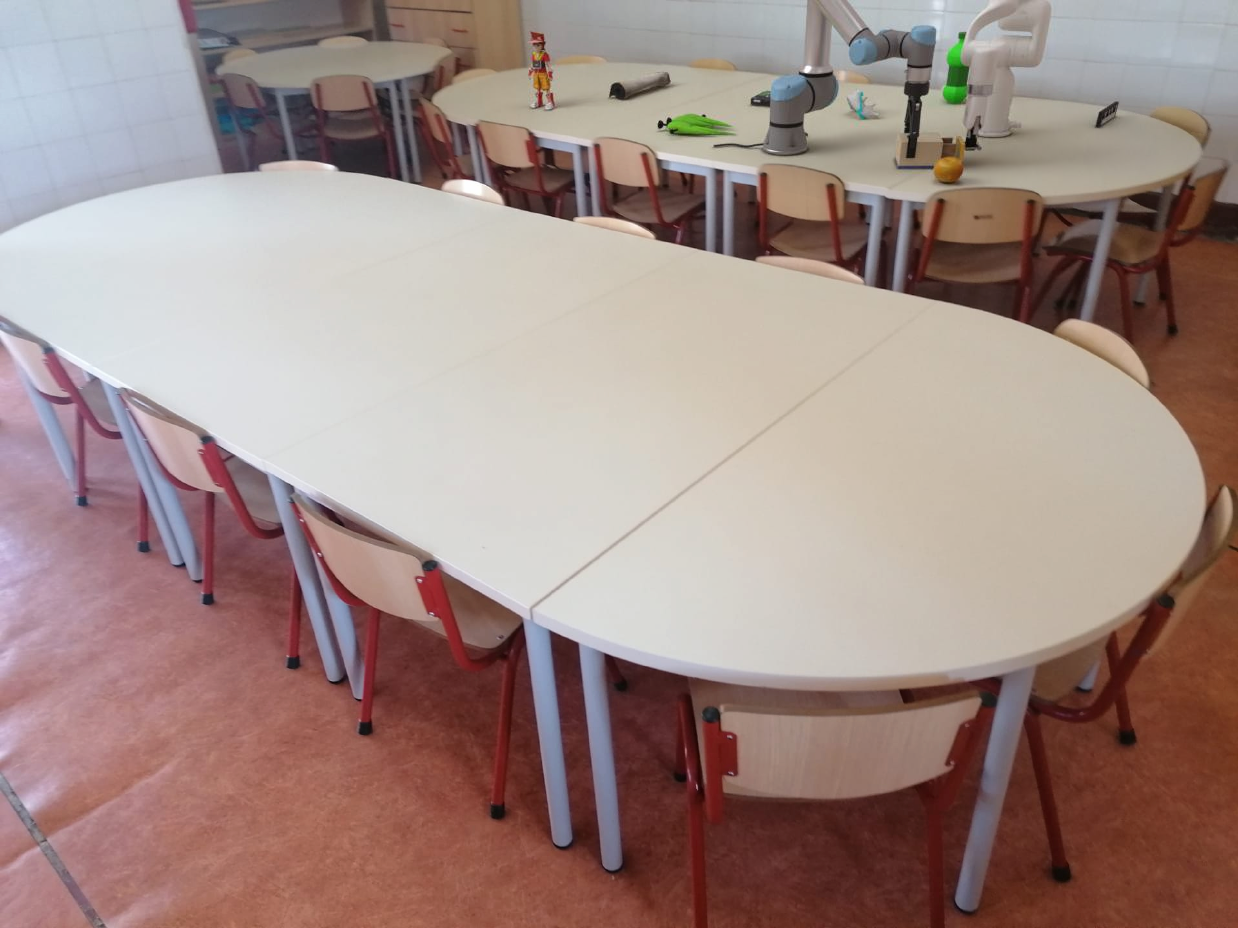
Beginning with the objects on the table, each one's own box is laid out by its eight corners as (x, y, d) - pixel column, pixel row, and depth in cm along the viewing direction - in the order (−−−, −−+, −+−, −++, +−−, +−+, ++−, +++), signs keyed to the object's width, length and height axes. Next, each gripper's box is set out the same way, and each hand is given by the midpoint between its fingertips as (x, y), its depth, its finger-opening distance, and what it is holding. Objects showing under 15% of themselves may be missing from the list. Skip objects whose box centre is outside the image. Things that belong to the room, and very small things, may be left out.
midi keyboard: (1099, 127, 316) (1102, 112, 313) (1095, 126, 316) (1098, 112, 314) (1115, 116, 326) (1119, 101, 323) (1111, 115, 327) (1115, 101, 324)
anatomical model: (842, 88, 347) (867, 81, 346) (844, 115, 353) (869, 108, 352) (853, 97, 335) (879, 90, 334) (855, 125, 341) (881, 118, 340)
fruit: (927, 172, 273) (945, 149, 270) (928, 175, 281) (945, 152, 278) (950, 188, 272) (968, 164, 269) (951, 190, 280) (968, 167, 277)
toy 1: (525, 109, 381) (517, 32, 364) (534, 104, 388) (527, 28, 371) (550, 110, 377) (543, 32, 360) (559, 105, 384) (553, 28, 367)
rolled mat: (651, 76, 408) (662, 61, 399) (662, 93, 408) (674, 79, 400) (605, 92, 391) (616, 77, 383) (617, 110, 391) (628, 95, 383)
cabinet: (934, 158, 297) (938, 132, 292) (939, 168, 288) (943, 141, 283) (894, 159, 299) (898, 133, 294) (898, 168, 290) (901, 142, 285)
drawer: (974, 156, 294) (978, 135, 290) (979, 164, 286) (983, 144, 282) (920, 156, 296) (923, 136, 293) (924, 165, 289) (927, 144, 285)
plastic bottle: (973, 101, 354) (984, 32, 339) (955, 106, 349) (966, 36, 335) (952, 97, 361) (962, 29, 346) (934, 102, 356) (944, 33, 342)
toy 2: (646, 133, 336) (718, 146, 323) (647, 118, 333) (719, 132, 320) (682, 121, 356) (750, 133, 343) (683, 107, 353) (752, 119, 341)
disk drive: (773, 107, 363) (788, 98, 373) (773, 100, 361) (788, 91, 371) (750, 105, 368) (765, 96, 378) (750, 98, 366) (765, 89, 376)
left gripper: (901, 73, 289) (892, 143, 302) (909, 89, 270) (900, 163, 283) (925, 72, 288) (916, 142, 301) (935, 89, 269) (924, 163, 282)
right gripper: (963, 84, 285) (954, 143, 295) (971, 95, 272) (960, 156, 283) (988, 84, 283) (977, 143, 294) (996, 95, 271) (985, 156, 282)
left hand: (908, 153), depth 292 cm, fingers closed on cabinet, 11 cm apart
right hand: (969, 150), depth 288 cm, fingers closed
